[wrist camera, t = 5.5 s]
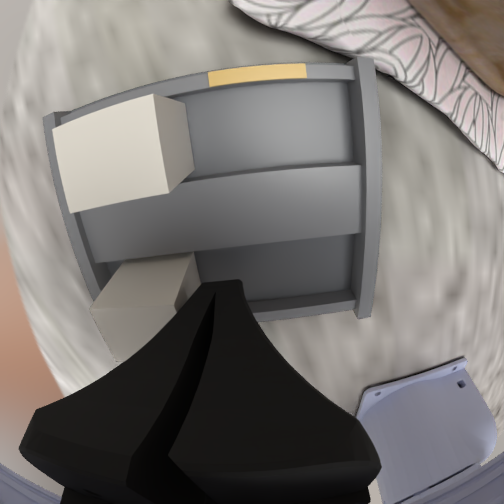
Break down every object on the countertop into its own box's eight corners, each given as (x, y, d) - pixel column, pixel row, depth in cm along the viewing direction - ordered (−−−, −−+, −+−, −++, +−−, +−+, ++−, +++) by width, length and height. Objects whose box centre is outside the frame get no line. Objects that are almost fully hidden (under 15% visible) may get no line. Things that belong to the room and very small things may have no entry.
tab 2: (193, 250, 11) (173, 304, 8) (205, 301, 12) (193, 362, 9) (125, 259, 11) (88, 309, 8) (142, 306, 12) (116, 361, 9)
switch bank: (355, 69, 9) (378, 59, 7) (358, 288, 13) (374, 316, 11) (69, 116, 9) (38, 119, 7) (123, 312, 13) (108, 339, 11)
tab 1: (184, 103, 8) (152, 93, 5) (194, 169, 9) (169, 192, 6) (108, 123, 9) (52, 129, 5) (119, 184, 10) (69, 213, 6)
